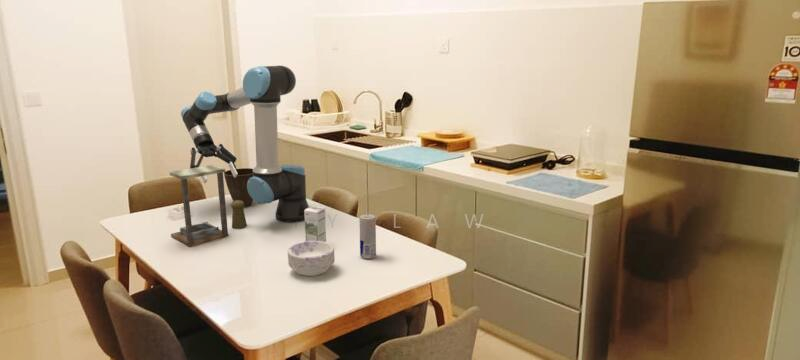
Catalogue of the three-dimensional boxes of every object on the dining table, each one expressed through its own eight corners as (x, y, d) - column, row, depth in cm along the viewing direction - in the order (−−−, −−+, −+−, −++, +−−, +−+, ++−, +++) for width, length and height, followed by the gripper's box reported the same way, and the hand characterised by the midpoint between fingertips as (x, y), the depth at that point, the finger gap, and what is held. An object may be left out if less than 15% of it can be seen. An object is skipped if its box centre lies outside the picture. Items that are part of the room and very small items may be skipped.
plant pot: (220, 208, 251) (217, 174, 247) (235, 199, 266) (232, 167, 262) (251, 210, 249) (249, 176, 245) (264, 201, 263) (262, 168, 259)
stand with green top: (210, 226, 227) (205, 162, 220) (230, 236, 216) (225, 168, 209) (169, 237, 215) (162, 169, 209) (188, 247, 204) (181, 176, 197)
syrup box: (327, 244, 207) (325, 207, 204) (318, 249, 202) (316, 211, 198) (314, 241, 210) (312, 205, 206) (305, 247, 204) (303, 209, 201)
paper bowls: (314, 284, 173) (313, 260, 171) (279, 273, 181) (277, 251, 179) (344, 267, 186) (343, 245, 184) (309, 258, 194) (308, 237, 192)
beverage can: (378, 254, 197) (377, 214, 193) (372, 260, 192) (371, 219, 188) (363, 252, 199) (363, 213, 195) (357, 258, 193) (356, 217, 190)
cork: (244, 229, 224) (242, 203, 222) (229, 229, 224) (227, 203, 222) (248, 224, 230) (246, 199, 227) (234, 224, 230) (232, 198, 228)
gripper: (225, 140, 248) (245, 178, 241) (170, 147, 231) (190, 188, 224) (231, 129, 243) (250, 168, 236) (175, 136, 226) (194, 178, 219)
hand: (221, 178), depth 230 cm, fingers open, 13 cm apart
